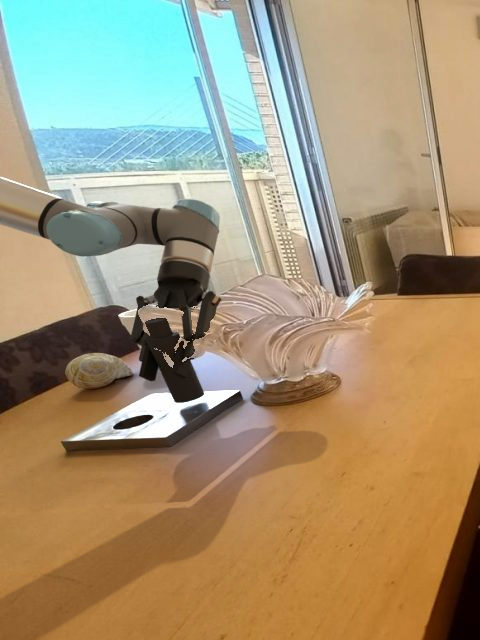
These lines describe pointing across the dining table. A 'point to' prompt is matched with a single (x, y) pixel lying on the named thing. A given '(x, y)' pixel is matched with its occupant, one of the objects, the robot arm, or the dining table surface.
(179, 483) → the dining table surface
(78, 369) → the seashell
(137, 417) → the plate
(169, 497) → the dining table surface
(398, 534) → the dining table surface
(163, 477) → the dining table surface
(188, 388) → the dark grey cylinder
